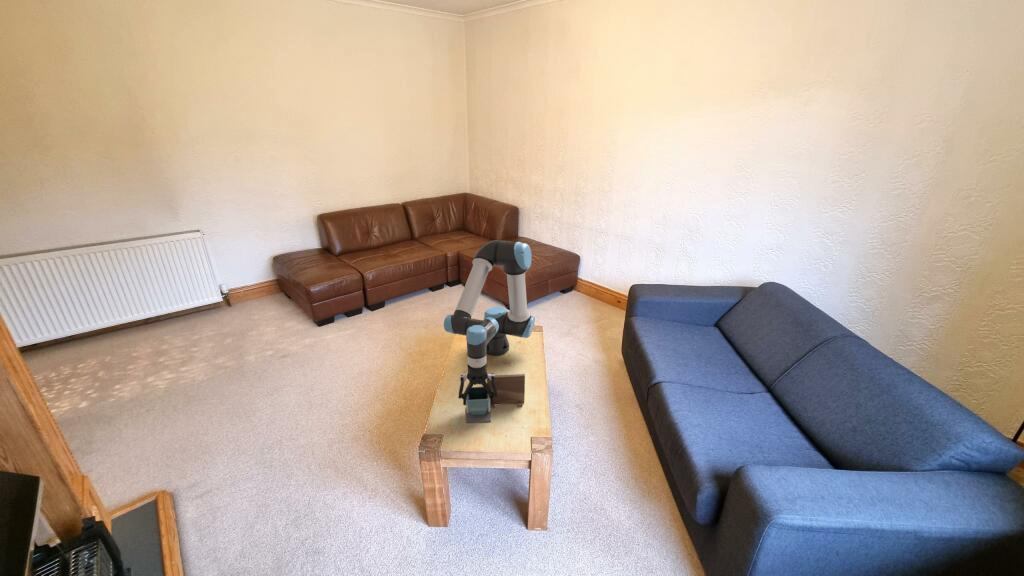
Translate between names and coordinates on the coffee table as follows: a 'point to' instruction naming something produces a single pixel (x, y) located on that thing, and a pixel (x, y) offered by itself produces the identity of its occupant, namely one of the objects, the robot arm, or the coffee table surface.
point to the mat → (478, 417)
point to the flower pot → (478, 400)
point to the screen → (508, 389)
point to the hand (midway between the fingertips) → (478, 409)
